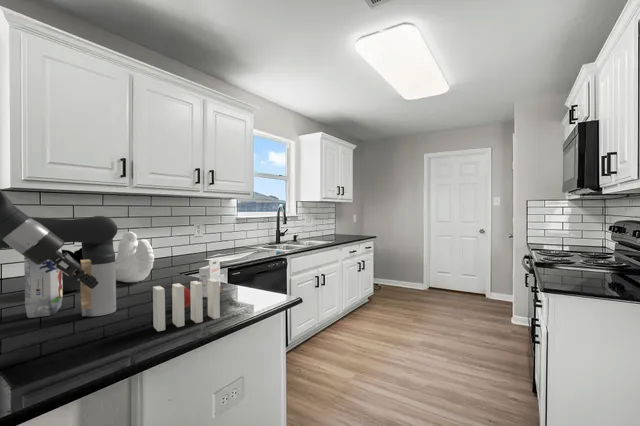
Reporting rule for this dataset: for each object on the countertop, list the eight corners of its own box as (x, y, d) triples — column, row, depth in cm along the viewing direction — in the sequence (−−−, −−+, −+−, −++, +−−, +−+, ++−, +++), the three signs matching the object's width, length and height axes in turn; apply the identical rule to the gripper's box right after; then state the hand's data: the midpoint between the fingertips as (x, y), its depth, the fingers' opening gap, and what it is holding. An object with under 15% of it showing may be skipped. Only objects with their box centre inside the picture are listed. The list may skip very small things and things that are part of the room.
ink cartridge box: (210, 292, 142) (209, 257, 142) (220, 292, 141) (220, 258, 141) (198, 297, 134) (198, 260, 134) (210, 297, 133) (209, 261, 133)
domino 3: (196, 323, 103) (195, 284, 103) (190, 319, 107) (190, 281, 107) (202, 321, 104) (202, 283, 104) (197, 317, 108) (196, 280, 108)
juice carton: (23, 320, 108) (21, 236, 107) (32, 311, 117) (31, 234, 117) (57, 315, 112) (56, 235, 112) (64, 307, 121) (63, 233, 121)
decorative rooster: (107, 281, 166) (106, 231, 166) (141, 276, 178) (140, 230, 178) (126, 288, 150) (125, 233, 150) (161, 282, 162) (160, 231, 162)
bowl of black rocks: (38, 300, 132) (37, 252, 132) (36, 291, 147) (36, 248, 147) (98, 291, 145) (97, 248, 145) (91, 284, 160) (90, 245, 160)
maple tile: (81, 309, 85) (81, 262, 84) (80, 305, 89) (80, 259, 89) (91, 308, 86) (91, 261, 86) (89, 303, 90) (89, 259, 90)
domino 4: (213, 319, 106) (213, 281, 106) (207, 315, 110) (207, 279, 110) (219, 318, 108) (219, 280, 108) (213, 314, 112) (213, 278, 112)
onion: (178, 306, 121) (178, 284, 121) (194, 305, 122) (194, 284, 122) (173, 311, 116) (172, 288, 115) (190, 310, 116) (189, 287, 116)
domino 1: (157, 331, 96) (157, 290, 96) (153, 326, 100) (152, 286, 100) (165, 329, 97) (164, 288, 97) (160, 325, 101) (160, 285, 101)
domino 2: (177, 327, 100) (177, 287, 99) (172, 322, 104) (172, 284, 103) (184, 325, 101) (184, 286, 101) (179, 321, 105) (178, 283, 105)
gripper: (22, 250, 85) (80, 290, 92) (17, 256, 74) (84, 301, 81) (49, 228, 88) (103, 269, 96) (48, 231, 77) (109, 276, 84)
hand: (94, 283), depth 88 cm, fingers closed on maple tile, 5 cm apart
